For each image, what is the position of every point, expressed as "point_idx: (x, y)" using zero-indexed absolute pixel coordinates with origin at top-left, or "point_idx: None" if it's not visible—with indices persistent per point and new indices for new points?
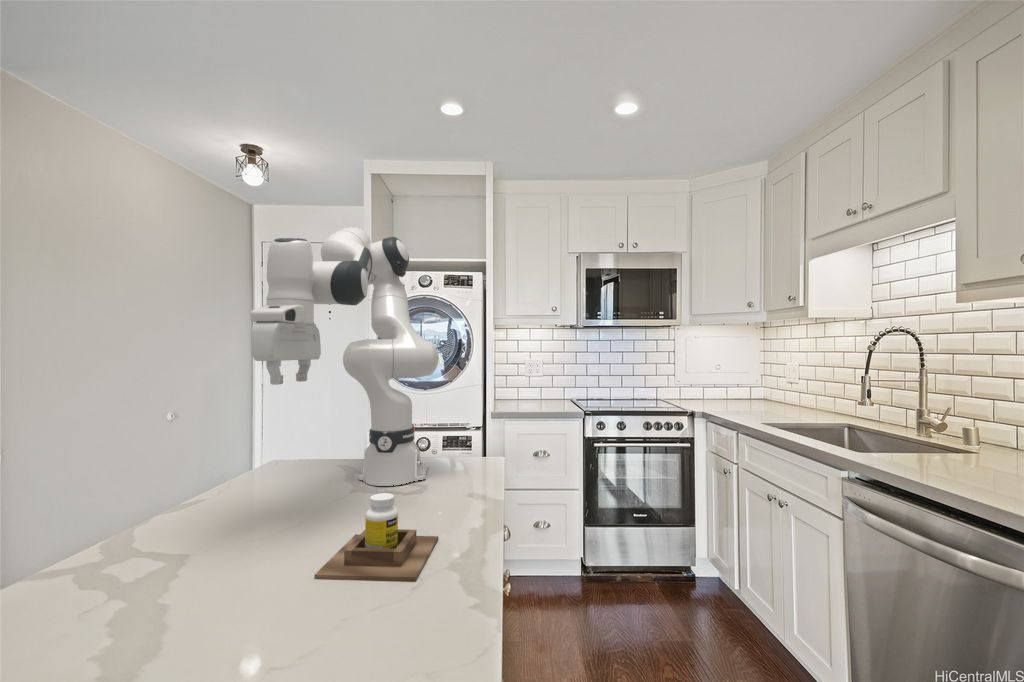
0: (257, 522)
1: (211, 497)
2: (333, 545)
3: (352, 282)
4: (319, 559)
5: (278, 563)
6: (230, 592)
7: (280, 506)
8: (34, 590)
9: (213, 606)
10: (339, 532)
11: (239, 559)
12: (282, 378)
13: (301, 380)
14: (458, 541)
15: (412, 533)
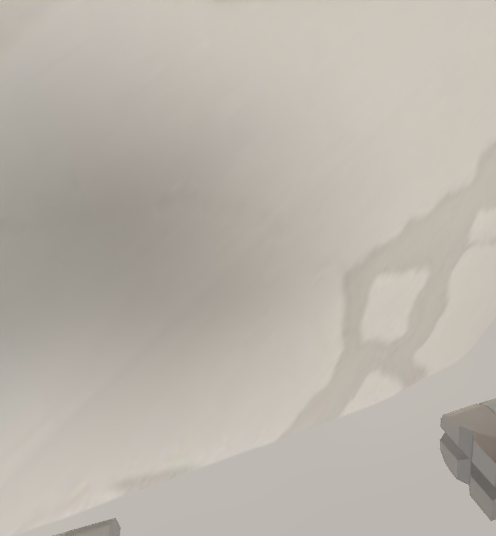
0: (195, 288)
1: (104, 486)
2: (262, 29)
3: None
4: (328, 15)
5: (354, 92)
6: (449, 94)
7: (95, 321)
8: (450, 350)
9: (485, 85)
10: (193, 63)
11: (349, 178)
12: (484, 437)
13: (119, 532)
14: None
15: None
